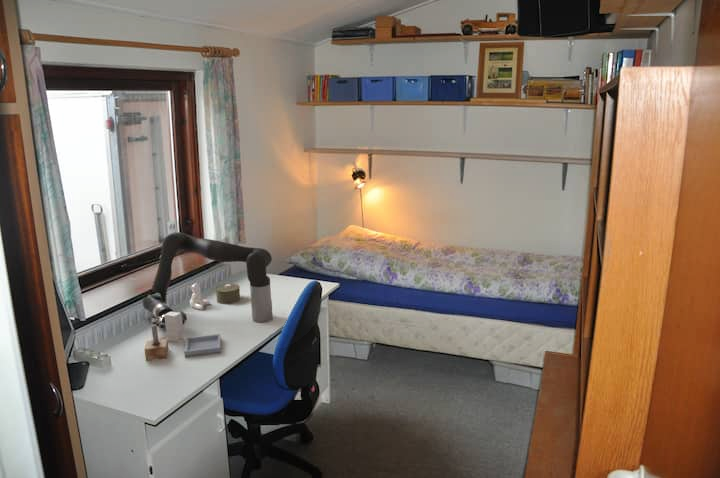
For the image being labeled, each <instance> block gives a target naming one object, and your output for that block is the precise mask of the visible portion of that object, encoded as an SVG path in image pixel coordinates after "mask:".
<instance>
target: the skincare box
mask: <svg viewBox="0 0 720 478" xmlns="http://www.w3.org/2000/svg"><path fill="white" fill-rule="evenodd" d="M164 317H165V324H164V327H165V332H166V333H165V334H166V339H168V342H176V343H180V342H181V341H182V340H184V339H185V334H184V332H185V331H184V326H183V325H184V324H183V323H182V314H181V313H180V312H177V311H176V312H175V311H174V312H168V313H167V314H165V315H164Z"/></svg>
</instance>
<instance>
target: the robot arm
mask: <svg viewBox="0 0 720 478" xmlns="http://www.w3.org/2000/svg"><path fill="white" fill-rule="evenodd" d="M162 240H163V241H162V245H161V251H160V258H159V263H158V267H157V270H156V274H155V277H154V280H153V283H152V287H151V289H152V290H153V292H155V293H157V294H159V295H156V294H147V295H148V296H147V297H145V296H144V297H145V298H144V297H143V299H142V306H143V308H144V310H146V311H148V312H150V313H152V314H153V315H154V317H151V318H150V320H151V326H152V325H157V328H160V329H162V330H164V329H165V317H164V315H165V314H167V313H168V312H175V311H174V310H173V309H172V308H171V307H170V306H169V304H167V293H168V288H169V286H170V283H171V280H172V273H173V272H172V271H173V270H172V265H173V261H174V258H175V257H176V254H177V253H180V252H189V253H195V254H197V255H200V256H202V257H203V258H205V259H208V260H211V261H216V262H220V263H230V262H231V263H232V262H235V263H236V262H243V263H246V264H245V265H246V272H247V273H246V274H247V281H249V286H250V287H249V289H250V301H251V302H250V303H251V319H252V321H253V322H255V323H266V322H267V323H268V322H271V321H273V319H274V316H273V302H272V301H273V300H272V290H271V279H270V277H269V276H268V275H267V267H268V266H269V265H270V264H271V263H272V260H273V257H272V255H271V253H270V252H269V251H268V250H267V249H264V248H261V247H260V248H259V247H249V246H243V245H242V246H241V245H237V244H233V243H229V242H224V241H221V240H215V239H209V238H202V237H201V238H200V237H196V236H193V235H189V234H187V233H184V232H179V231H178V232H171V233H168V234H166V235H165V236H164V238H163V239H162ZM179 313H181V314H182V323H183V325H185V323H186V321H188V320H187V319H188V318H187V314H186V313H185V312H184V311H183V310H182V311H179Z"/></svg>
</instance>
